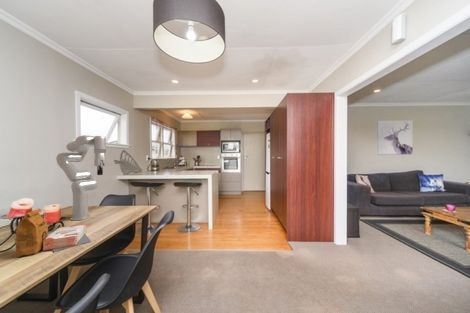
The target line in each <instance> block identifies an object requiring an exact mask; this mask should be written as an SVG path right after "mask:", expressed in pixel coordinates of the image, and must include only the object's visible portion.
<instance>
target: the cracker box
mask: <svg viewBox="0 0 470 313" xmlns="http://www.w3.org/2000/svg"><path fill="white" fill-rule="evenodd" d="M86 232H87V223H80V224H75V225H68V226H67V225H66V226H60V227H58V228H57V229H55V230H54V231H53V232H51V234H48V237H47V238H46V239H44V240H43V248H42V251H48V250H52V249H55V248H61V247H67V246H72V245H76V244H77V242H78V241H79V240H80V239H81V237H82V236H83V235H84V234H85V235H86Z"/></svg>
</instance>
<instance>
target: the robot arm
mask: <svg viewBox="0 0 470 313" xmlns="http://www.w3.org/2000/svg"><path fill="white" fill-rule="evenodd" d="M89 146H93V154H94V165H93V166H94V167H97V170H96V171H97V172H96V174H97V176H103V172H104V169H103V168H104V167H105V164H106V157H105V156H106V154H107V137H106V136H103V135H95V136H94V135H80V136H78V137H76V138H75V139H74V141H71V142H69V143H67V144H66V146H65V147H66V149H67V151H69V152H61V153H59V154H57V156H56V158H55V159H56V163H57V166H59V168H60V169H61V170H62V171H63V172H64V174H65V176H66V177H67V178H68V180H69V181H70V182H71V187H70V188H71V191H72V192H71V193H72V217H70V218H69V220H70V221H81V220H82V221H83V220H86V219H88V218H90V217H91V214H89V196H88V194H87V193H86V192H87V191H93V190H96V189H97V188H98V186H99V185H98V184H99V183H98V181H97V179H96V177H95V176H94V175H93V173H92V172H91V171H90V170H88V169H84V170H83V169H78V168H77V166H76V165H75V164H73V163H81V162H83V160H85V157H86V155H87V154H88V151H89V148H90V147H89Z"/></svg>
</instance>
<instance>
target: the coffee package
mask: <svg viewBox="0 0 470 313" xmlns="http://www.w3.org/2000/svg"><path fill="white" fill-rule="evenodd" d="M42 211H43V210H42V209H41V208H36V209H35V210H32V211H29V212H27V213H26V214H25V215H24V216H23V217H22V219H21V220H20V221H19V223H18V224H17V226H16V231H15V244H14V245H15V258H20V257H24V256H28V255H29V256H30V255H33V254H37V253H39V251H41V250H43V240H44V239H46V238H47V237H48V236H49V234H48V232H49V226H48V222H46V220H45V219H44V218H43V217H42V215H41V213H42Z"/></svg>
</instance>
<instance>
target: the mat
mask: <svg viewBox="0 0 470 313" xmlns="http://www.w3.org/2000/svg"><path fill="white" fill-rule="evenodd" d="M88 243H92V241H91V239H90V238H89V236H88V235H87V234H86V233H85V234H84V235H83V236H82V237H81V239H80V240H79V241H78V242H77V244H76V245H72V246H67V247H61V248H55V249H51V250H52V251H53V253H58V252H60V251H64V250H68V249H70V248H74V247H77V246H81V245H85V244H88Z"/></svg>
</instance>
